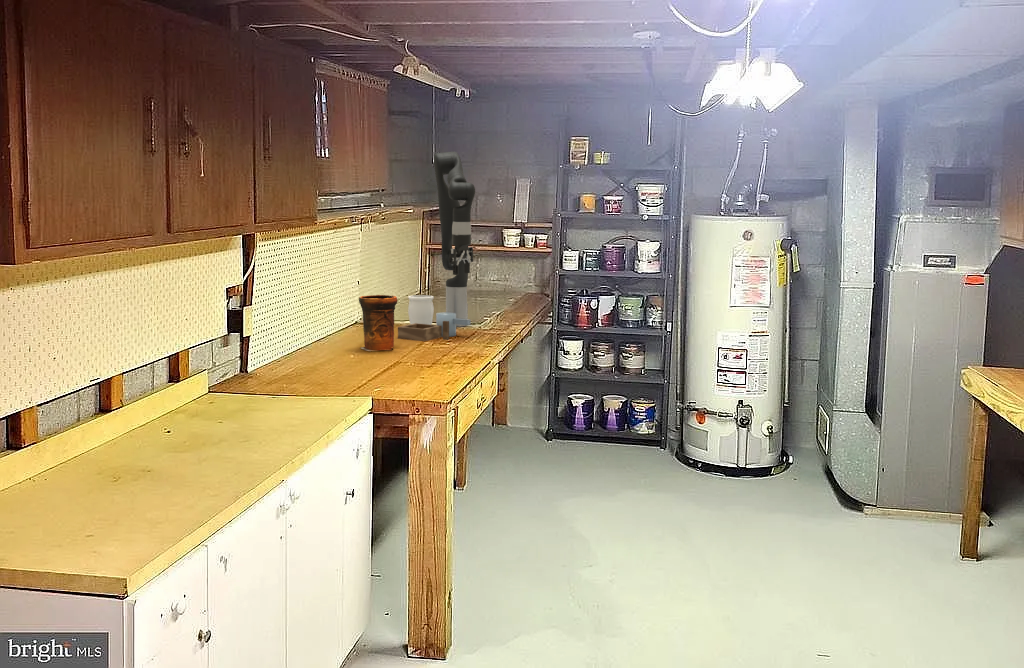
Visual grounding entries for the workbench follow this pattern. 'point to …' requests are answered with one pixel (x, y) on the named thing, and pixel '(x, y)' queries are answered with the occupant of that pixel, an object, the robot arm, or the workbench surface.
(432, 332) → the cradle
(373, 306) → the vessel
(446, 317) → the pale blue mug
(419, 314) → the jar
